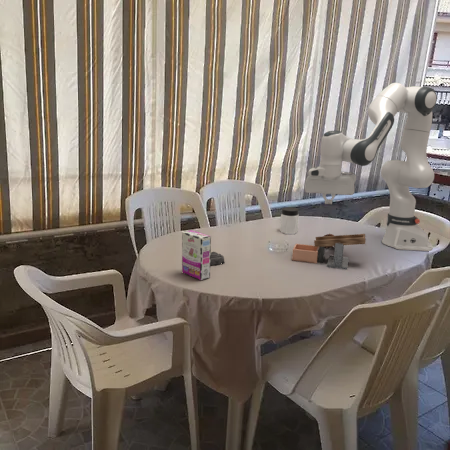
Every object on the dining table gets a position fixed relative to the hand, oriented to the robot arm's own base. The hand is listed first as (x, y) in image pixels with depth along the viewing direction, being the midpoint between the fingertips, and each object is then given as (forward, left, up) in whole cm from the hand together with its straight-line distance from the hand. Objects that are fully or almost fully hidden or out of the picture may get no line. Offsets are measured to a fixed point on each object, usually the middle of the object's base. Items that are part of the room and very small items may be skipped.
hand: (328, 204), depth 194 cm
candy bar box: (+44, +41, -23) cm, 64 cm away
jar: (+21, -31, -23) cm, 44 cm away
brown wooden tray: (-6, +7, -14) cm, 17 cm away
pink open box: (+7, +7, -23) cm, 25 cm away
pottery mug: (-2, -11, -23) cm, 26 cm away
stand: (-4, +7, -23) cm, 24 cm away
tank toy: (+44, +26, -24) cm, 56 cm away
